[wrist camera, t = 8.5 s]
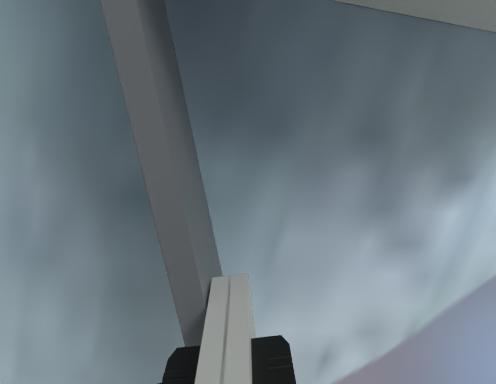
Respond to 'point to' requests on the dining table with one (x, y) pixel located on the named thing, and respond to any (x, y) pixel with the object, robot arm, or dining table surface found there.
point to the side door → (166, 153)
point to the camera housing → (440, 10)
